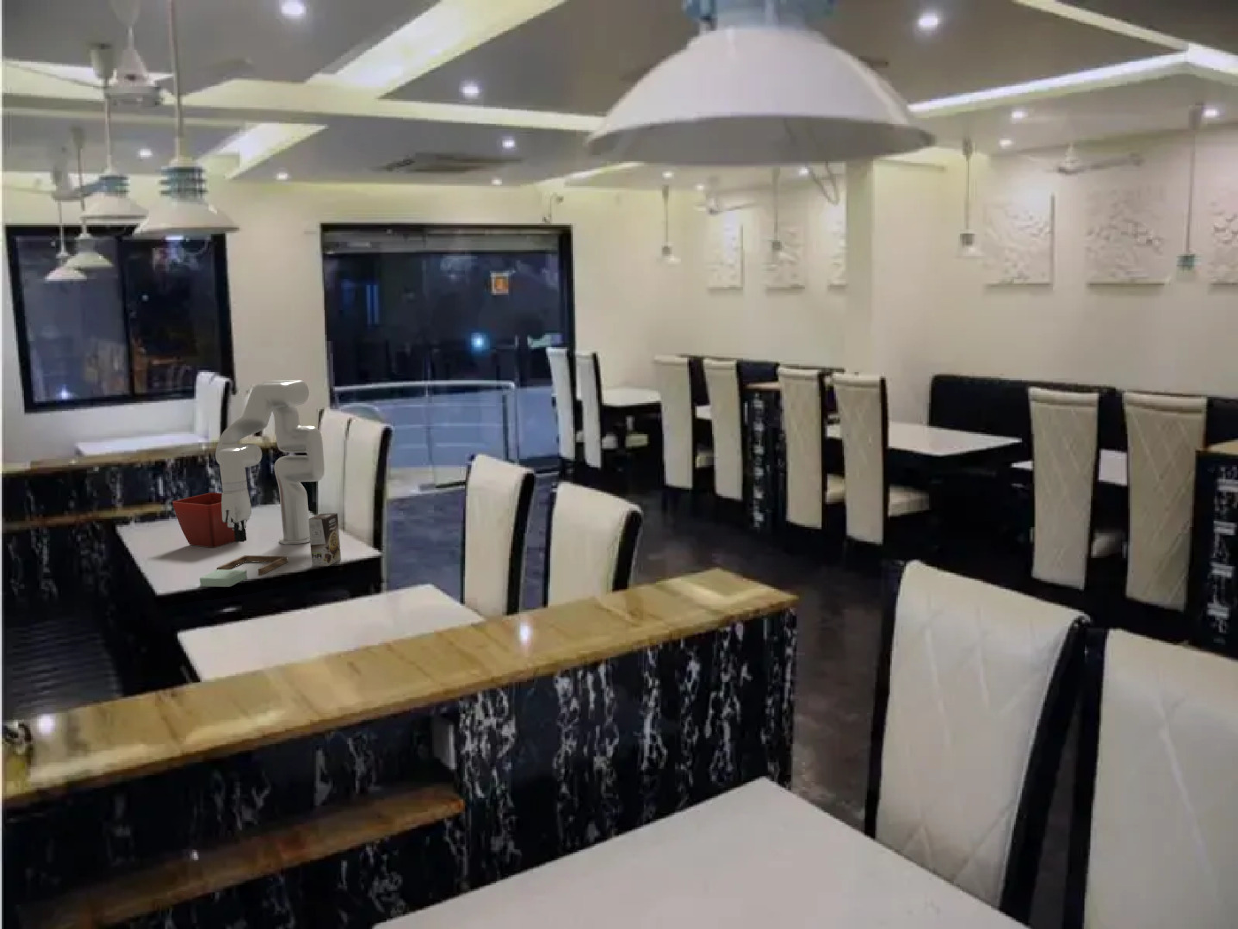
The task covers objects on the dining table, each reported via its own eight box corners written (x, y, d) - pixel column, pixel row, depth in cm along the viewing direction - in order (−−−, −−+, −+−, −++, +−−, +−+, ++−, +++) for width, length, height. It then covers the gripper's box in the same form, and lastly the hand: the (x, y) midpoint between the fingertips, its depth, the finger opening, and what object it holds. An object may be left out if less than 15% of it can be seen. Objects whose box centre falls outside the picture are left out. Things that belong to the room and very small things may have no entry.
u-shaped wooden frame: (245, 560, 343) (244, 555, 342) (287, 562, 339) (287, 556, 339) (217, 573, 327) (216, 567, 327) (261, 575, 324) (260, 569, 324)
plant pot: (253, 539, 375) (249, 494, 372) (214, 551, 358) (209, 505, 355) (216, 535, 383) (211, 492, 380) (175, 547, 366) (170, 501, 363)
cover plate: (218, 578, 323) (217, 569, 323) (247, 579, 321) (246, 570, 321) (200, 587, 313) (199, 578, 313) (229, 588, 312) (228, 578, 311)
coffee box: (329, 566, 332) (325, 518, 330) (311, 565, 334) (307, 518, 331) (341, 559, 341) (338, 512, 338) (324, 558, 342) (320, 512, 340)
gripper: (237, 481, 331) (243, 534, 335) (210, 491, 317) (217, 547, 320) (258, 481, 329) (263, 535, 333) (231, 491, 315) (238, 548, 319)
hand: (240, 541), depth 327 cm, fingers closed
